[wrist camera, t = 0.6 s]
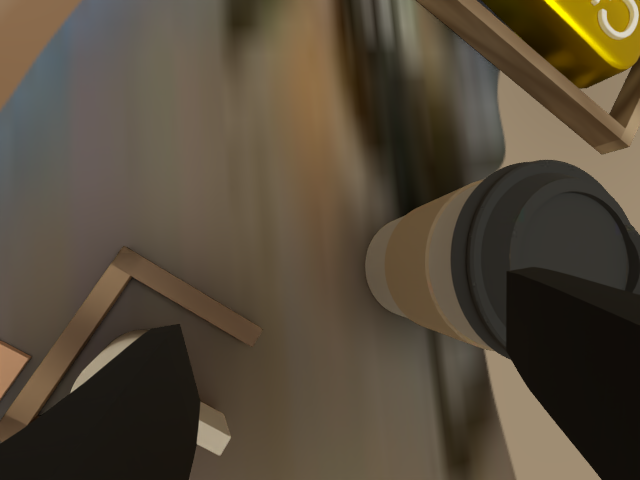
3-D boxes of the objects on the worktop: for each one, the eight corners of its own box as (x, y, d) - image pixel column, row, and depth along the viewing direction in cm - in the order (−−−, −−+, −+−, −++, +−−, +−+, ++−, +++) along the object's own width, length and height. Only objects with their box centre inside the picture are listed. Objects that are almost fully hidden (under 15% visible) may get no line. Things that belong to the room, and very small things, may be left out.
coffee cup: (344, 329, 31) (483, 375, 17) (353, 194, 32) (492, 131, 18) (463, 334, 34) (671, 378, 20) (468, 209, 35) (671, 164, 20)
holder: (153, 498, 27) (152, 513, 26) (2, 425, 26) (-11, 435, 24) (258, 326, 30) (263, 329, 28) (127, 247, 28) (123, 245, 26)
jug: (238, 376, 29) (256, 406, 23) (193, 451, 28) (198, 506, 22) (128, 313, 28) (112, 326, 21) (76, 390, 27) (42, 429, 20)
